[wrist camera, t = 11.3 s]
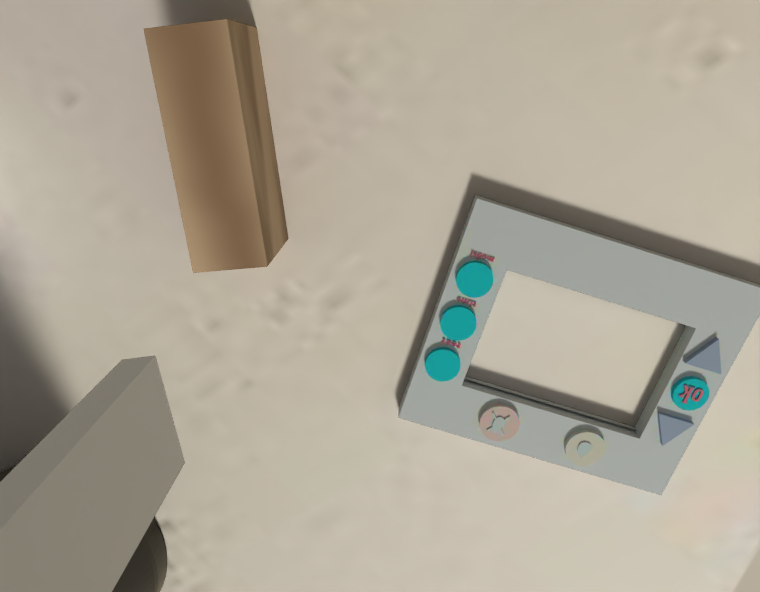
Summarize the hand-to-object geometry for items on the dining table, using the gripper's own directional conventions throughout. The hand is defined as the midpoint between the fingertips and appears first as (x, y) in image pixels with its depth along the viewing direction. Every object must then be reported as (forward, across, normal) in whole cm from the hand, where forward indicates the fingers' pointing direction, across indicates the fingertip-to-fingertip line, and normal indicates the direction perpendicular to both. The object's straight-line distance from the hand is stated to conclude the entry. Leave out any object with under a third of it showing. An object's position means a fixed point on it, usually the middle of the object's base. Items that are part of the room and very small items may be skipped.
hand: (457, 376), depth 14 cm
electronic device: (+26, +8, -12) cm, 30 cm away
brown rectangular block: (+26, -10, +4) cm, 28 cm away
